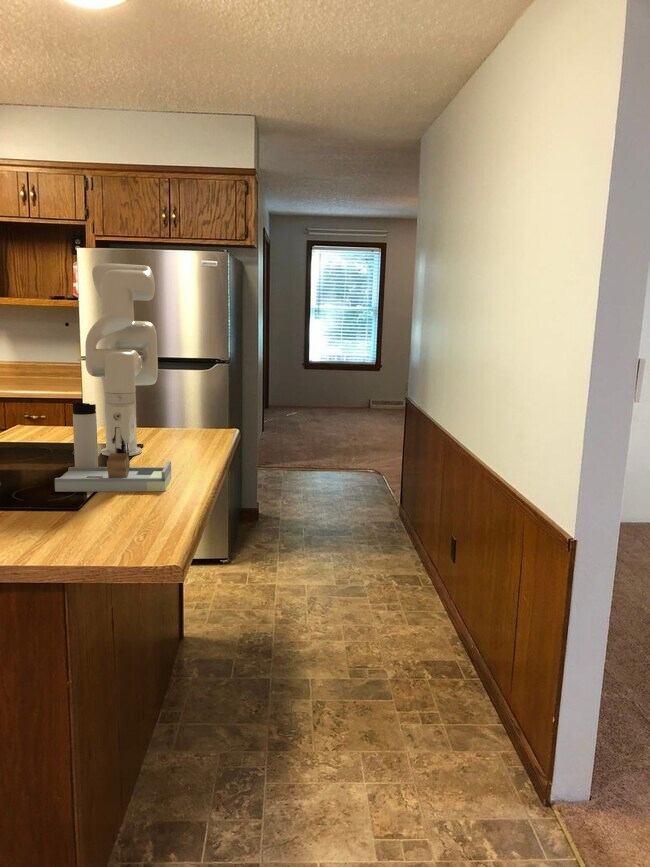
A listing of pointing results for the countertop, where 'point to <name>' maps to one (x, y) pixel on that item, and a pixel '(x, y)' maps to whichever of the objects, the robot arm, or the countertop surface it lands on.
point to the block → (118, 465)
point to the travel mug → (85, 435)
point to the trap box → (114, 479)
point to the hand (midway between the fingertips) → (122, 467)
